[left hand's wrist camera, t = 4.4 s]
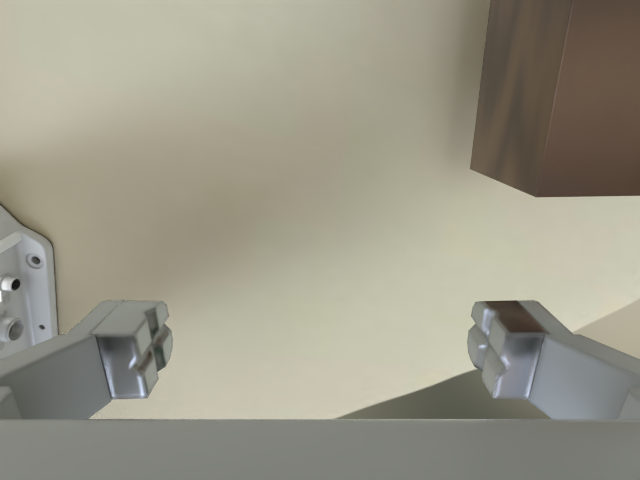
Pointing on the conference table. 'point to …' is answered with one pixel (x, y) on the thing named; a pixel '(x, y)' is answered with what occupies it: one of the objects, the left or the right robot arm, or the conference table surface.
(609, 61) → the bar
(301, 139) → the conference table surface
